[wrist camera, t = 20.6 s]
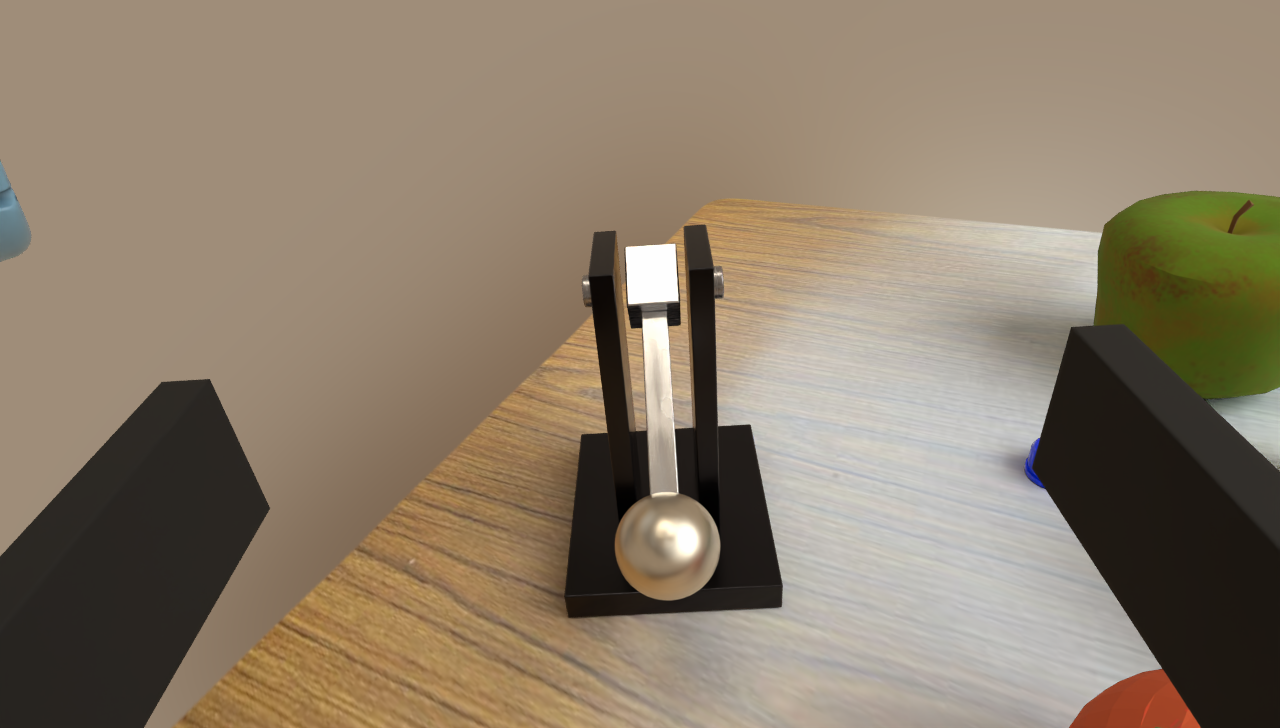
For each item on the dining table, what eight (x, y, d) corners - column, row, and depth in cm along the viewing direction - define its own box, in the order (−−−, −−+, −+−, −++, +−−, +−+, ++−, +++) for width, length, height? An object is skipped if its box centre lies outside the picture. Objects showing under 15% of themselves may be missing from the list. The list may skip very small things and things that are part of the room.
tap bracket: (782, 607, 35) (794, 310, 27) (568, 618, 36) (511, 328, 27) (750, 443, 45) (752, 189, 37) (584, 453, 46) (546, 204, 37)
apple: (1216, 313, 53) (1278, 155, 47) (1360, 418, 43) (1463, 233, 37) (1038, 328, 53) (1075, 172, 47) (1138, 435, 43) (1203, 254, 37)
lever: (722, 601, 30) (726, 593, 26) (621, 606, 30) (611, 598, 26) (696, 276, 35) (697, 231, 31) (610, 282, 35) (601, 237, 31)
